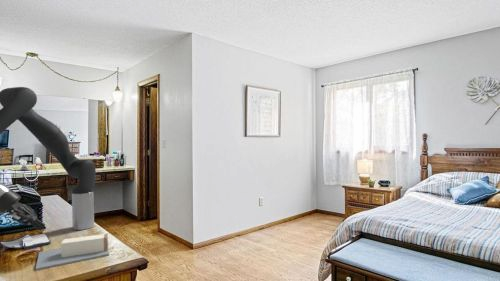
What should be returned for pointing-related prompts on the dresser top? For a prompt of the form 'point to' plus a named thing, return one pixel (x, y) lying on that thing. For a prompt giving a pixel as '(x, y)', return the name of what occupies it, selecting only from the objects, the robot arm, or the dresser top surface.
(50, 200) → the dresser top surface
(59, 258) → the rubber mat
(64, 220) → the dresser top surface
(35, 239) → the dark grey smartphone
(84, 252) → the cream block
